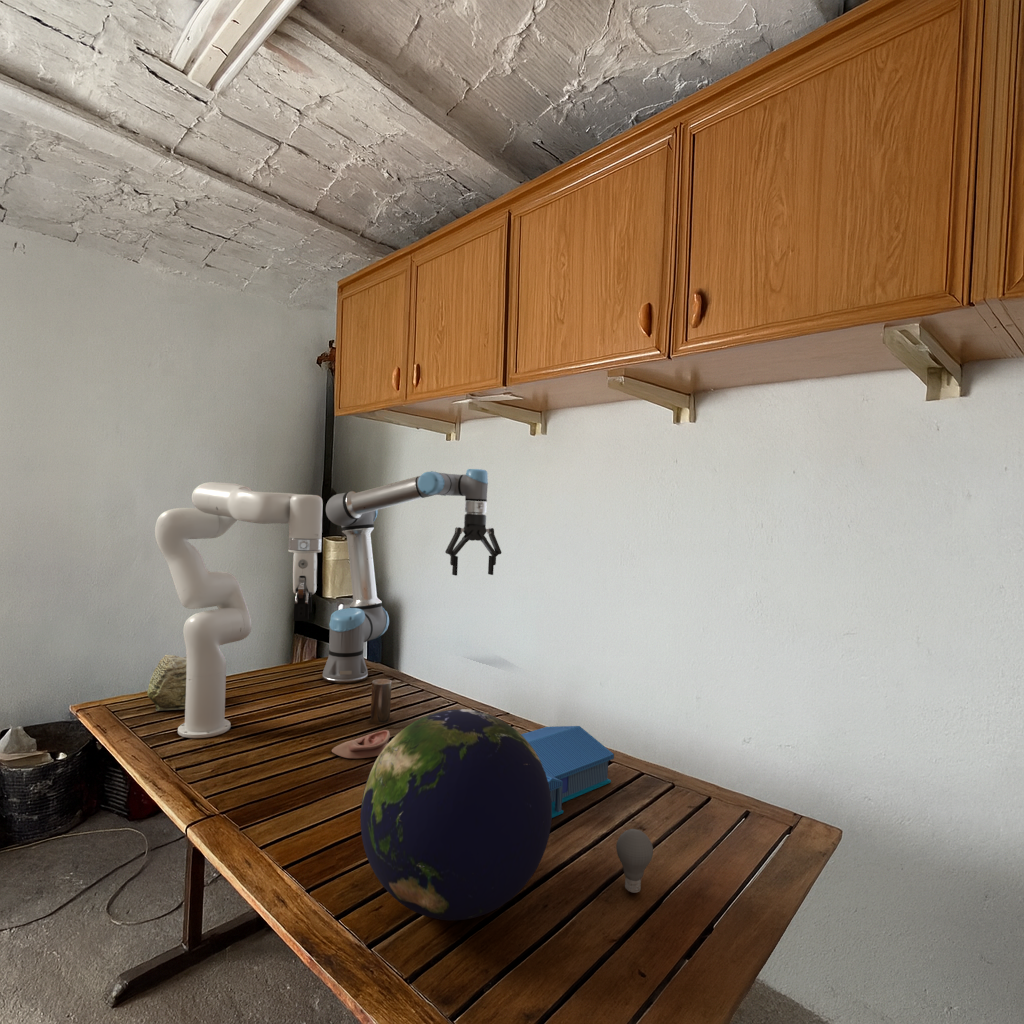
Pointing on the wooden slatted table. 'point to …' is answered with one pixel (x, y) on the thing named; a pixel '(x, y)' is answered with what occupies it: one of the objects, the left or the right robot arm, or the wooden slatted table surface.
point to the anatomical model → (363, 746)
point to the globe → (456, 814)
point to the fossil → (169, 683)
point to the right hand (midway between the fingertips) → (472, 574)
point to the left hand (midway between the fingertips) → (302, 616)
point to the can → (380, 701)
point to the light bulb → (634, 857)
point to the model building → (570, 762)
